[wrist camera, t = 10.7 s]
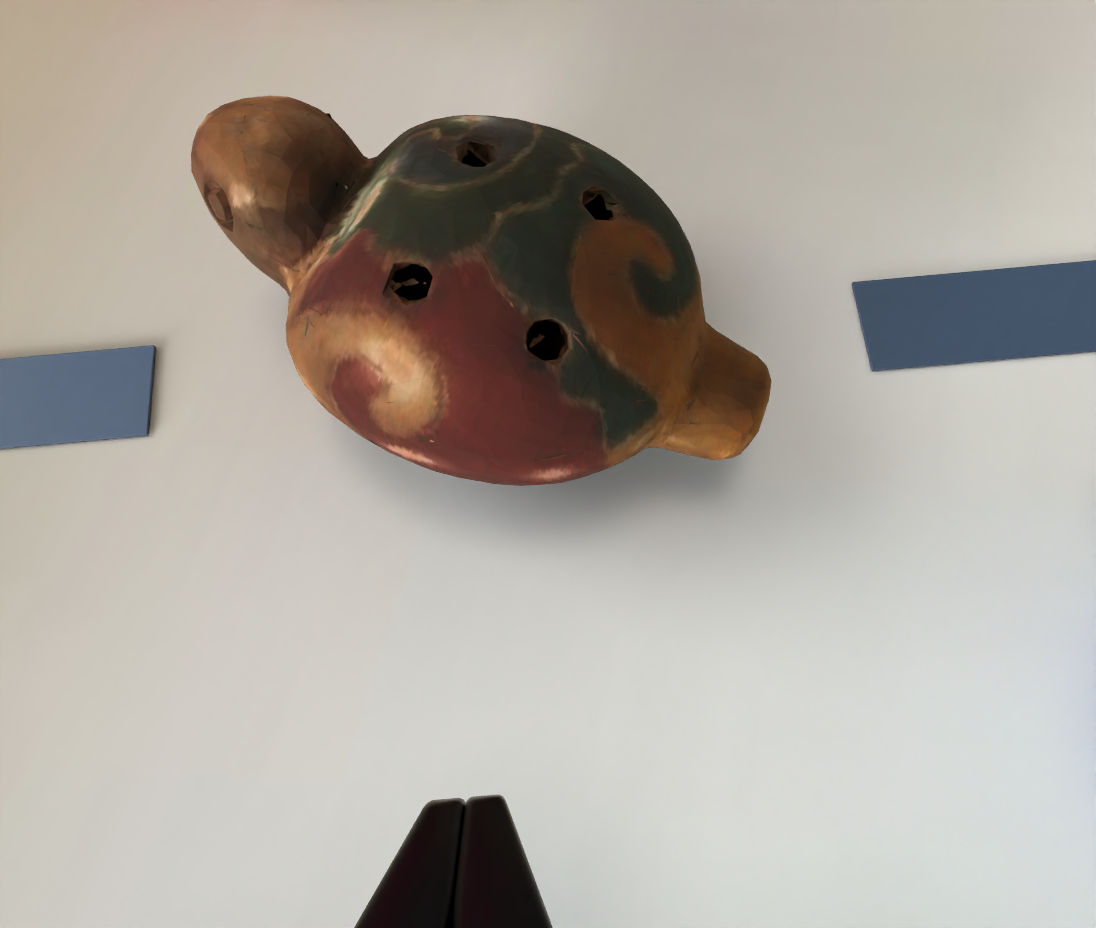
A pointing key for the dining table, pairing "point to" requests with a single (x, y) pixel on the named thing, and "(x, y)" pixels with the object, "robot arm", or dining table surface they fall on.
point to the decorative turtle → (480, 292)
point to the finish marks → (883, 305)
